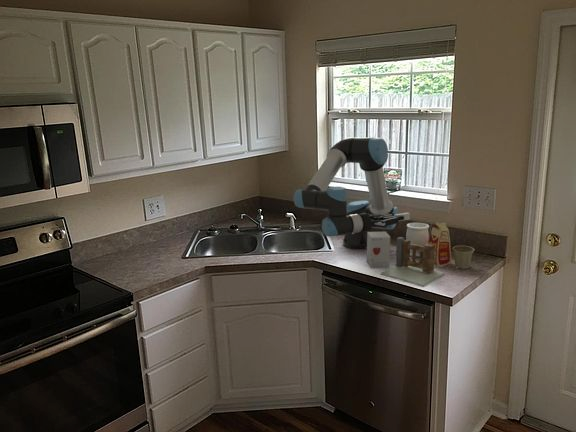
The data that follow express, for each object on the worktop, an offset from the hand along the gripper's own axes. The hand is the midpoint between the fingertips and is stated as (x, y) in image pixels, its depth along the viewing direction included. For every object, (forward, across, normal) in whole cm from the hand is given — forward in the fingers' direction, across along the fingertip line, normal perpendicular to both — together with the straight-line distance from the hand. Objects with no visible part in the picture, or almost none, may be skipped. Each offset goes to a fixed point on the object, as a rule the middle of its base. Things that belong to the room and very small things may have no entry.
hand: (408, 216), depth 202 cm
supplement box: (-4, -17, -27) cm, 33 cm away
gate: (+7, -2, -26) cm, 27 cm away
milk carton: (+22, -8, -28) cm, 36 cm away
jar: (+20, -22, -28) cm, 41 cm away
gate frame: (+3, 0, -27) cm, 27 cm away
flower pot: (+29, +1, -28) cm, 40 cm away
